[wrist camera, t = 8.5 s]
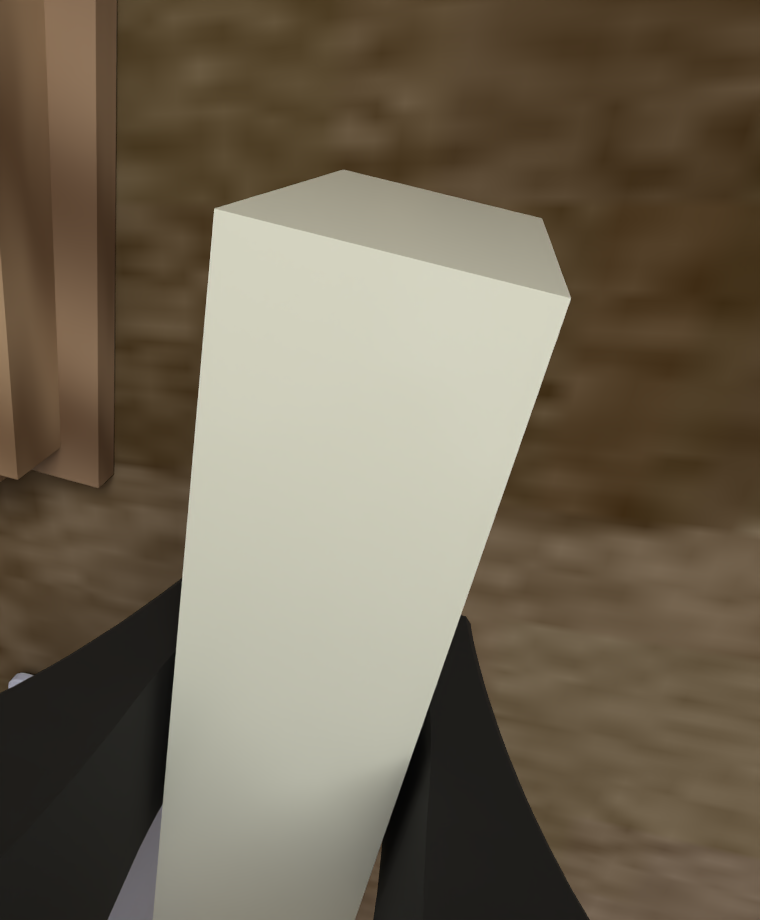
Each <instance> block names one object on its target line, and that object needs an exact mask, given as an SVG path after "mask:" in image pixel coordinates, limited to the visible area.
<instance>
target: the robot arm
mask: <svg viewBox="0 0 760 920" xmlns="http://www.w3.org/2000/svg"><path fill="white" fill-rule="evenodd" d="M181 588H182V578H181V579H180V580H179V581H178V582H176V583H175V584H174V585H172V586H171V587H170V588H168V589H167V590H166V591H164V592H163V593H162V594H160V595H159V596H157V597H156V598H155V599H153V600H152V601H150V602H149V603H148V604H146V605H145V606H143V607H142V608H141V609H139V610H138V611H136V612H135V613H134V614H132V615H131V616H129V617H128V618H127V619H125V620H124V621H122V622H121V623H119V624H118V625H116V626H115V627H113V628H111V629H110V630H108V631H107V632H105V633H104V634H102V635H100V636H99V637H97V638H96V639H94V640H93V641H91V642H89V643H88V644H86V645H85V646H83V647H82V648H80V649H79V650H77V651H75V652H74V653H72V654H70V655H69V656H67V657H65V658H64V659H62V660H60V661H58V662H57V663H55V664H53V665H52V666H50V667H48V668H46V669H44V670H43V671H41V672H39V673H37V674H35V675H31V674H28V673H18V674H16V675H15V676H14V677H13V678H12V680H11V681H10V682H9V685H8V688H9V689H7V690H5V691H3V692H1V693H0V920H153V911H154V899H155V888H156V876H157V865H158V853H159V842H160V830H161V819H162V807H163V796H164V784H165V773H166V761H167V750H168V738H169V726H170V715H171V703H172V692H173V680H174V669H175V657H176V646H177V634H178V623H179V611H180V600H181ZM373 920H589V918H588V916H587V915H586V913H585V911H584V909H583V908H582V906H581V904H580V903H579V901H578V899H577V898H576V896H575V894H574V893H573V891H572V889H571V887H570V885H569V884H568V882H567V880H566V878H565V876H564V874H563V872H562V870H561V868H560V866H559V864H558V863H557V861H556V859H555V857H554V855H553V853H552V851H551V849H550V847H549V845H548V843H547V841H546V839H545V837H544V835H543V833H542V831H541V829H540V827H539V825H538V823H537V821H536V818H535V816H534V814H533V812H532V810H531V808H530V805H529V803H528V801H527V799H526V796H525V794H524V792H523V789H522V787H521V785H520V782H519V780H518V777H517V775H516V772H515V770H514V768H513V765H512V763H511V760H510V758H509V755H508V752H507V750H506V747H505V744H504V742H503V739H502V736H501V734H500V731H499V728H498V725H497V722H496V719H495V716H494V713H493V710H492V707H491V704H490V701H489V698H488V694H487V691H486V688H485V684H484V681H483V677H482V674H481V670H480V666H479V663H478V659H477V654H476V650H475V646H474V641H473V636H472V631H471V624H470V622H469V621H468V619H467V617H466V616H462V615H461V616H460V619H459V621H458V624H457V627H456V630H455V633H454V636H453V639H452V642H451V644H450V647H449V650H448V653H447V656H446V659H445V662H444V665H443V667H442V670H441V673H440V676H439V679H438V682H437V685H436V688H435V690H434V693H433V696H432V699H431V702H430V705H429V708H428V711H427V713H426V716H425V719H424V722H423V725H422V728H421V731H420V734H419V736H418V739H417V742H416V745H415V748H414V751H413V754H412V756H411V759H410V762H409V765H408V768H407V771H406V774H405V777H404V779H403V782H402V785H401V788H400V791H399V794H398V797H397V800H396V802H395V805H394V808H393V811H392V814H391V817H390V820H389V823H388V825H387V828H386V831H385V834H384V837H383V841H382V852H381V862H380V872H379V882H378V890H377V898H376V905H375V912H374V919H373Z"/></svg>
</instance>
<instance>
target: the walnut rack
mask: <svg viewBox="0 0 760 920" xmlns="http://www.w3.org/2000/svg"><path fill="white" fill-rule="evenodd" d="M116 60H117V0H0V482H1V481H3V480H4V479H5V478H7V477H9V478H13V479H17V480H18V479H20V478H21V477H22V476H23V475H25V474H26V473H27V472H29V471H30V470H34V471H37V472H41V473H45V474H48V475H52V476H56V477H59V478H63V479H67V480H70V481H74V482H78V483H81V484H85V485H89V486H92V487H96V488H99V487H100V486H101V485H102V484H104V483H105V482H106V481H107V480H108V479H109V478H110V477H111V476H112V475H113V474H114V349H115V204H116Z"/></svg>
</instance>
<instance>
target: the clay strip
mask: <svg viewBox="0 0 760 920" xmlns="http://www.w3.org/2000/svg"><path fill="white" fill-rule="evenodd" d="M570 300H571V297H570V294H569V291H568V289H567V286H566V283H565V280H564V278H563V275H562V272H561V269H560V267H559V264H558V261H557V258H556V256H555V253H554V250H553V247H552V245H551V242H550V239H549V237H548V234H547V231H546V228H545V226H544V223H543V220H542V218H538V217H534V216H530V215H526V214H522V213H518V212H514V211H510V210H506V209H501V208H497V207H493V206H489V205H485V204H481V203H477V202H473V201H469V200H465V199H461V198H457V197H453V196H449V195H444V194H440V193H436V192H432V191H428V190H424V189H420V188H416V187H412V186H408V185H404V184H400V183H396V182H392V181H387V180H383V179H379V178H375V177H371V176H367V175H363V174H359V173H355V172H351V171H347V170H341V171H337V172H334V173H331V174H327V175H324V176H321V177H318V178H314V179H311V180H308V181H304V182H301V183H298V184H294V185H291V186H288V187H284V188H281V189H278V190H275V191H271V192H268V193H265V194H261V195H258V196H255V197H251V198H248V199H245V200H241V201H238V202H235V203H232V204H228V205H225V206H222V207H218V208H215V209H214V220H213V231H212V243H211V254H210V266H209V277H208V289H207V300H206V312H205V323H204V335H203V346H202V358H201V369H200V381H199V392H198V404H197V415H196V427H195V438H194V450H193V461H192V473H191V485H190V496H189V508H188V519H187V531H186V542H185V554H184V565H183V577H182V588H181V600H180V611H179V623H178V634H177V646H176V657H175V669H174V680H173V692H172V703H171V715H170V726H169V738H168V750H167V761H166V773H165V784H164V796H163V807H162V819H161V830H160V842H159V853H158V865H157V876H156V888H155V899H154V911H153V920H355V917H356V915H357V912H358V909H359V906H360V903H361V900H362V897H363V894H364V892H365V889H366V886H367V883H368V880H369V877H370V874H371V871H372V869H373V866H374V863H375V860H376V857H377V854H378V851H379V848H380V846H381V843H382V840H383V837H384V834H385V831H386V828H387V825H388V823H389V820H390V817H391V814H392V811H393V808H394V805H395V802H396V800H397V797H398V794H399V791H400V788H401V785H402V782H403V779H404V777H405V774H406V771H407V768H408V765H409V762H410V759H411V756H412V754H413V751H414V748H415V745H416V742H417V739H418V736H419V734H420V731H421V728H422V725H423V722H424V719H425V716H426V713H427V711H428V708H429V705H430V702H431V699H432V696H433V693H434V690H435V688H436V685H437V682H438V679H439V676H440V673H441V670H442V667H443V665H444V662H445V659H446V656H447V653H448V650H449V647H450V644H451V642H452V639H453V636H454V633H455V630H456V627H457V624H458V621H459V619H460V616H461V613H462V610H463V607H464V604H465V601H466V598H467V596H468V593H469V590H470V587H471V584H472V581H473V578H474V575H475V573H476V570H477V567H478V564H479V561H480V558H481V555H482V553H483V550H484V547H485V544H486V541H487V538H488V535H489V532H490V530H491V527H492V524H493V521H494V518H495V515H496V512H497V509H498V507H499V504H500V501H501V498H502V495H503V492H504V489H505V486H506V484H507V481H508V478H509V475H510V472H511V469H512V466H513V463H514V461H515V458H516V455H517V452H518V449H519V446H520V443H521V440H522V438H523V435H524V432H525V429H526V426H527V423H528V420H529V417H530V415H531V412H532V409H533V406H534V403H535V400H536V397H537V394H538V392H539V389H540V386H541V383H542V380H543V377H544V374H545V371H546V369H547V366H548V363H549V360H550V357H551V354H552V351H553V349H554V346H555V343H556V340H557V337H558V334H559V331H560V328H561V326H562V323H563V320H564V317H565V314H566V311H567V308H568V305H569V303H570Z"/></svg>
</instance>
